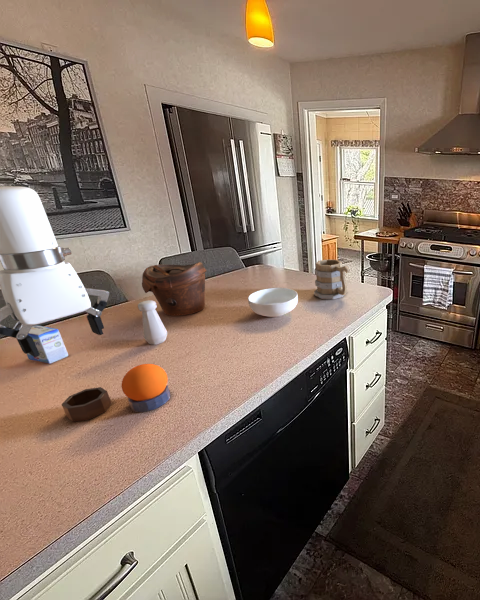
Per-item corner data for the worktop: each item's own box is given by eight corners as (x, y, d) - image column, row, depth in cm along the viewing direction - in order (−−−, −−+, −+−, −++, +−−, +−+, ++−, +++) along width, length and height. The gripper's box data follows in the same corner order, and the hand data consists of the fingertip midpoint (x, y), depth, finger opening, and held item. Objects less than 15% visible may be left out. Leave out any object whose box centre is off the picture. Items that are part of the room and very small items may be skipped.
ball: (139, 413, 68) (128, 381, 65) (119, 401, 71) (108, 370, 68) (178, 392, 75) (170, 362, 72) (159, 382, 78) (150, 353, 75)
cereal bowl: (240, 318, 115) (236, 299, 113) (271, 301, 130) (269, 285, 127) (280, 326, 110) (277, 306, 108) (308, 308, 125) (306, 290, 122)
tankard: (310, 293, 140) (307, 259, 135) (335, 287, 148) (333, 254, 143) (334, 307, 126) (332, 270, 121) (361, 299, 134) (360, 264, 129)
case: (147, 309, 121) (134, 262, 114) (207, 297, 133) (198, 254, 126) (154, 325, 108) (139, 274, 102) (219, 310, 121) (210, 263, 114)
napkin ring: (77, 425, 66) (71, 411, 65) (63, 414, 69) (57, 401, 68) (116, 406, 72) (111, 393, 70) (101, 397, 74) (96, 384, 73)
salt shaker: (149, 338, 100) (137, 299, 95) (171, 335, 102) (160, 297, 97) (142, 347, 95) (130, 306, 90) (165, 344, 97) (154, 304, 92)
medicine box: (28, 360, 88) (15, 331, 84) (48, 351, 92) (36, 324, 88) (50, 364, 86) (37, 335, 83) (69, 355, 90) (58, 327, 87)
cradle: (142, 416, 69) (139, 406, 68) (124, 405, 72) (121, 396, 71) (177, 397, 75) (174, 388, 74) (159, 387, 78) (156, 379, 77)
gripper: (84, 247, 67) (111, 322, 73) (-51, 268, 52) (-4, 359, 59) (102, 252, 64) (128, 330, 70) (-37, 275, 49) (12, 370, 56)
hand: (68, 343), depth 64 cm, fingers open, 9 cm apart
